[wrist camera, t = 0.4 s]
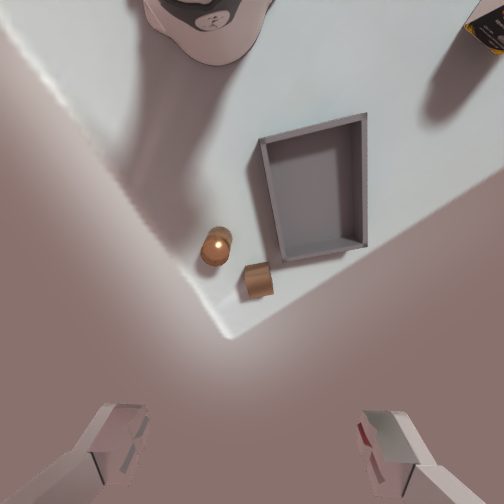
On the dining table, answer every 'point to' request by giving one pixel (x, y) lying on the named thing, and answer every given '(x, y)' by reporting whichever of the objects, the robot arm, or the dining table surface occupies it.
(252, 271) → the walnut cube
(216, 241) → the copper tin
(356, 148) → the box
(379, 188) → the dining table surface
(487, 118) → the dining table surface
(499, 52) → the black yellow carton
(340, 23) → the dining table surface
